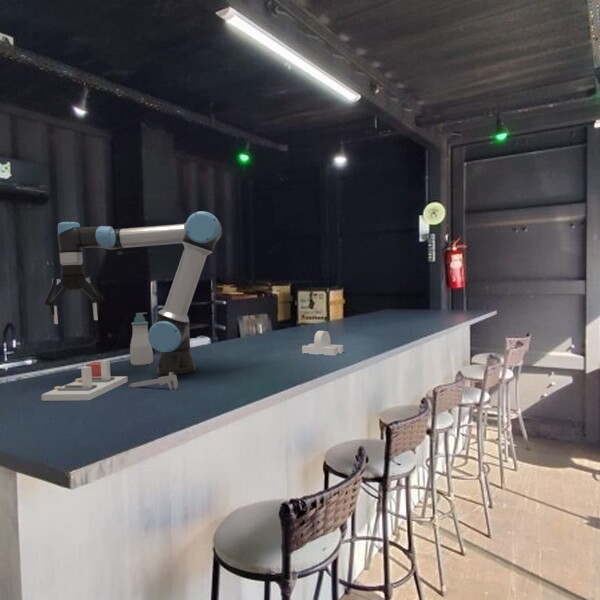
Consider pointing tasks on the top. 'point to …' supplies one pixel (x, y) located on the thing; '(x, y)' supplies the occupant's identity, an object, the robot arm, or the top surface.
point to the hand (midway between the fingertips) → (76, 322)
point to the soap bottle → (140, 342)
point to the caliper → (160, 381)
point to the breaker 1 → (86, 377)
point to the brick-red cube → (95, 369)
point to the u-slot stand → (322, 345)
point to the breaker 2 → (105, 370)
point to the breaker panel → (83, 389)
